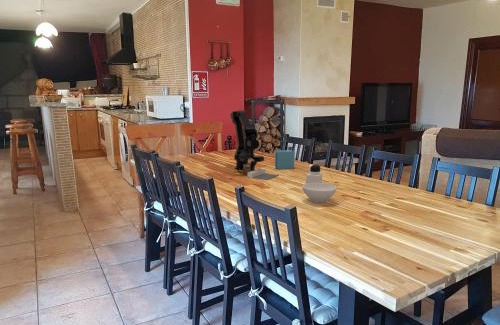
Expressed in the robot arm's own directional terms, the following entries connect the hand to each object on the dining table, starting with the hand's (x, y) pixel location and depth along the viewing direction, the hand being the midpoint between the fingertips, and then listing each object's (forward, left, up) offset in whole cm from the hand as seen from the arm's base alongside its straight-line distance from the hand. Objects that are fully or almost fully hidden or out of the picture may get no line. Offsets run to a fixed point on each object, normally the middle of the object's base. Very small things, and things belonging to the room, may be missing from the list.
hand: (249, 171), depth 241 cm
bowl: (+61, -33, -2) cm, 69 cm away
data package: (+12, +25, -2) cm, 28 cm away
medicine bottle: (+48, -9, -2) cm, 49 cm away
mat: (+14, -3, -1) cm, 14 cm away
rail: (+8, -3, -1) cm, 8 cm away
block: (0, 0, -1) cm, 1 cm away
